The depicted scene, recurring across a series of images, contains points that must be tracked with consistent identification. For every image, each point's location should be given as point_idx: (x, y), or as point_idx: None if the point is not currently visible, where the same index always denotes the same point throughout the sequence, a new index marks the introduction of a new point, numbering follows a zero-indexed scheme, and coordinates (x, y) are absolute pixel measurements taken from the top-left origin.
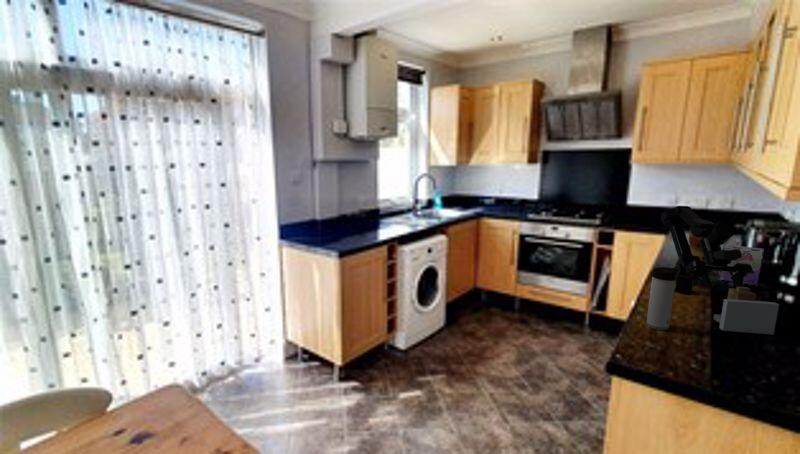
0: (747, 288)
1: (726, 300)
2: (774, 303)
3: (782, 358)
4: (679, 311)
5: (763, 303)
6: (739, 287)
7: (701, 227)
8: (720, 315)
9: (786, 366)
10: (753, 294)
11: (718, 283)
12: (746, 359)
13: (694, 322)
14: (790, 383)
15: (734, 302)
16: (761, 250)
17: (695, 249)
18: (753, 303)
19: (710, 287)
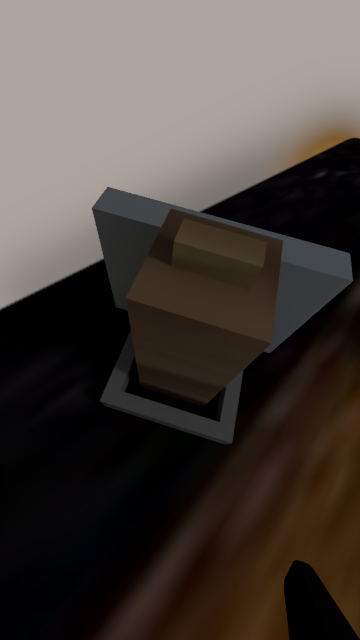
0: (199, 223)
1: (349, 263)
2: (112, 198)
3: (242, 205)
4: (342, 584)
5: (176, 206)
6: (250, 252)
7: None
8: (214, 421)
9: (263, 188)
10: (189, 215)
11: None
12: (322, 213)
13: (334, 412)
14: (303, 163)
15: (312, 248)
16: None
17: None
18: (222, 222)
19: (315, 574)
